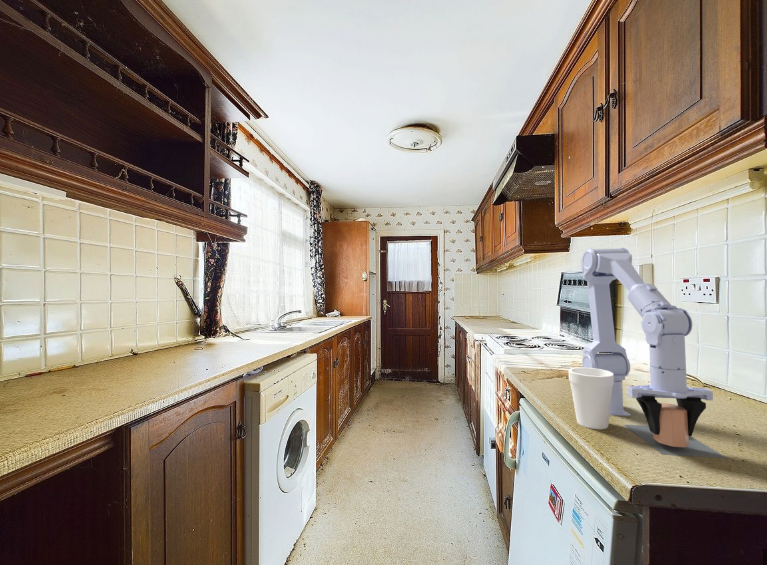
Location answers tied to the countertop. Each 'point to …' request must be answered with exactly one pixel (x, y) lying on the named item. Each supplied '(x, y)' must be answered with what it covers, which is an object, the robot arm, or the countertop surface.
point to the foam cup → (591, 396)
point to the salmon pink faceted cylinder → (673, 426)
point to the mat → (691, 450)
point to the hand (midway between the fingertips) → (670, 433)
